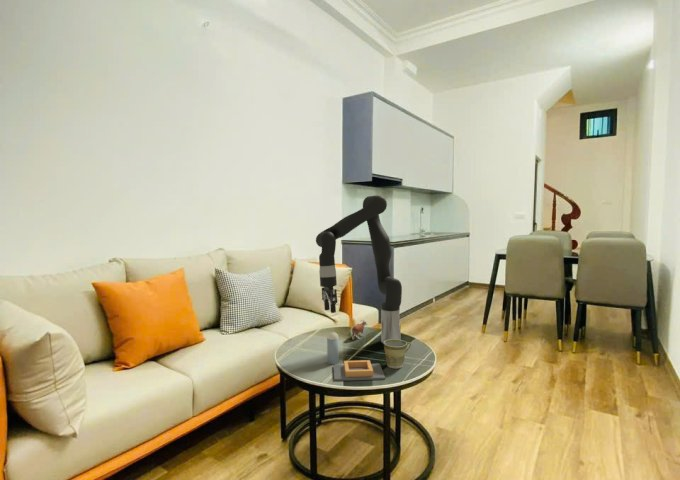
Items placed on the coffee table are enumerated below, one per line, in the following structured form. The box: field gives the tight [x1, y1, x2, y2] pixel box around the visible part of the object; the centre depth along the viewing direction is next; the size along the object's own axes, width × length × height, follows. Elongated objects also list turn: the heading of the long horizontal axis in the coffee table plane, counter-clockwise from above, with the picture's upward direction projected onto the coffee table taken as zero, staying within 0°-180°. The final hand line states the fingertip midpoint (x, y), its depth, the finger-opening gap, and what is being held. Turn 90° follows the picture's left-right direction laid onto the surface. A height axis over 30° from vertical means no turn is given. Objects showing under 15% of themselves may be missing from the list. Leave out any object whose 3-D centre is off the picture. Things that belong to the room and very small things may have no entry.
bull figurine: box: [351, 319, 368, 340], centre depth 199 cm, size 4×13×8 cm, turn 147°
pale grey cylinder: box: [326, 331, 340, 365], centre depth 164 cm, size 5×5×14 cm
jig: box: [332, 359, 386, 382], centre depth 153 cm, size 20×14×3 cm
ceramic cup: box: [383, 339, 412, 369], centre depth 160 cm, size 13×10×10 cm
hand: (330, 311), depth 169 cm, fingers open, 8 cm apart
